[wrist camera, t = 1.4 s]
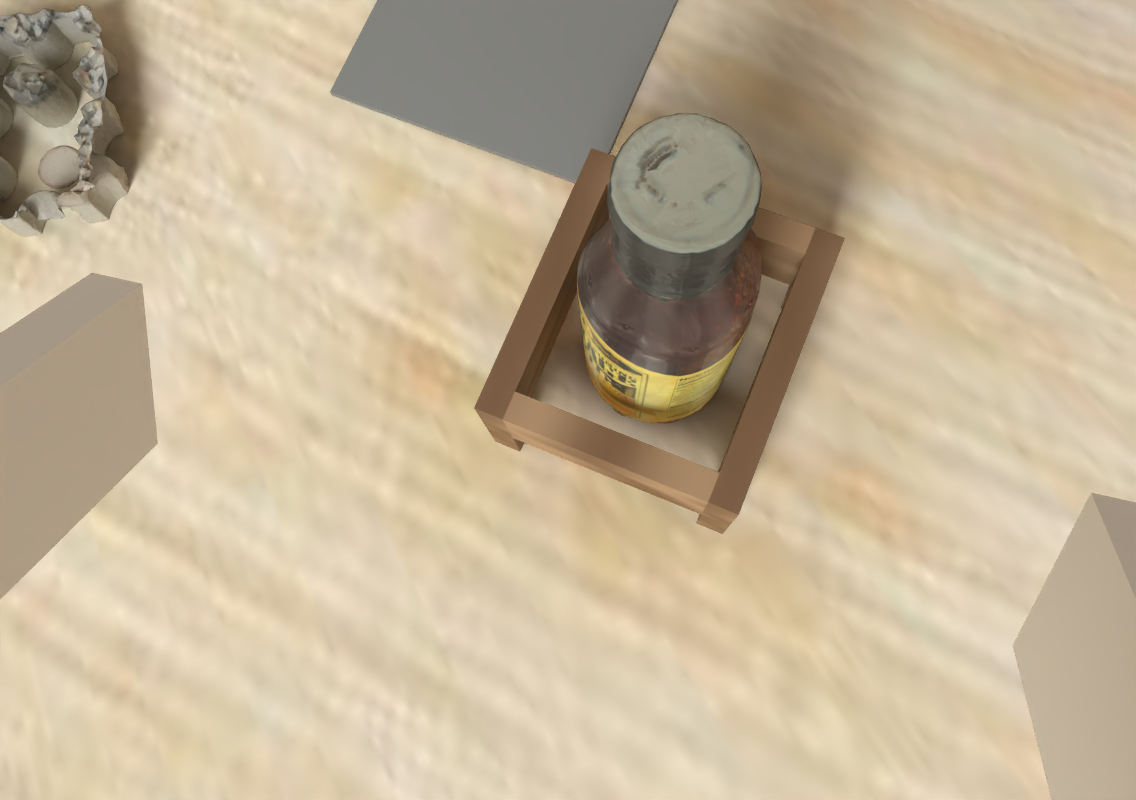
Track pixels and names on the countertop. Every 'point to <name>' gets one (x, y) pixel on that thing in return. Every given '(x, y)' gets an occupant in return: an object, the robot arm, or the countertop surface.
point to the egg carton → (61, 116)
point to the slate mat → (508, 72)
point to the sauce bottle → (671, 268)
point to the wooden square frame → (521, 419)
